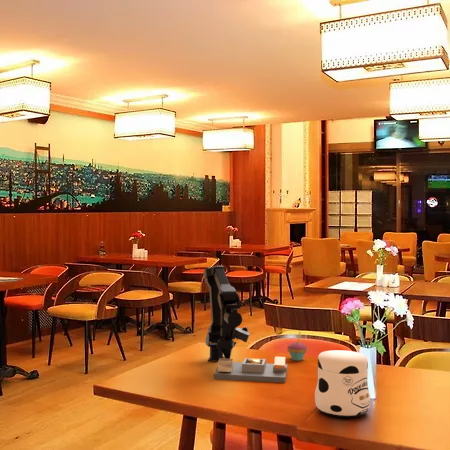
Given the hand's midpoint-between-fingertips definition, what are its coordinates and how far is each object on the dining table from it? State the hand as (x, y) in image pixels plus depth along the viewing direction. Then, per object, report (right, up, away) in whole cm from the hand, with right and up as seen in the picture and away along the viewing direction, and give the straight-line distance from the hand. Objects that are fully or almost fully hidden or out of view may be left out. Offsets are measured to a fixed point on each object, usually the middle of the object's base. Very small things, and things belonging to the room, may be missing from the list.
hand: (228, 361), depth 231 cm
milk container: (+36, -6, -44) cm, 58 cm away
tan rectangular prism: (-1, -2, -7) cm, 7 cm away
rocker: (+20, +1, -5) cm, 21 cm away
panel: (+9, -4, -3) cm, 11 cm away
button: (+10, -2, -3) cm, 11 cm away
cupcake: (+30, -4, +19) cm, 36 cm away
